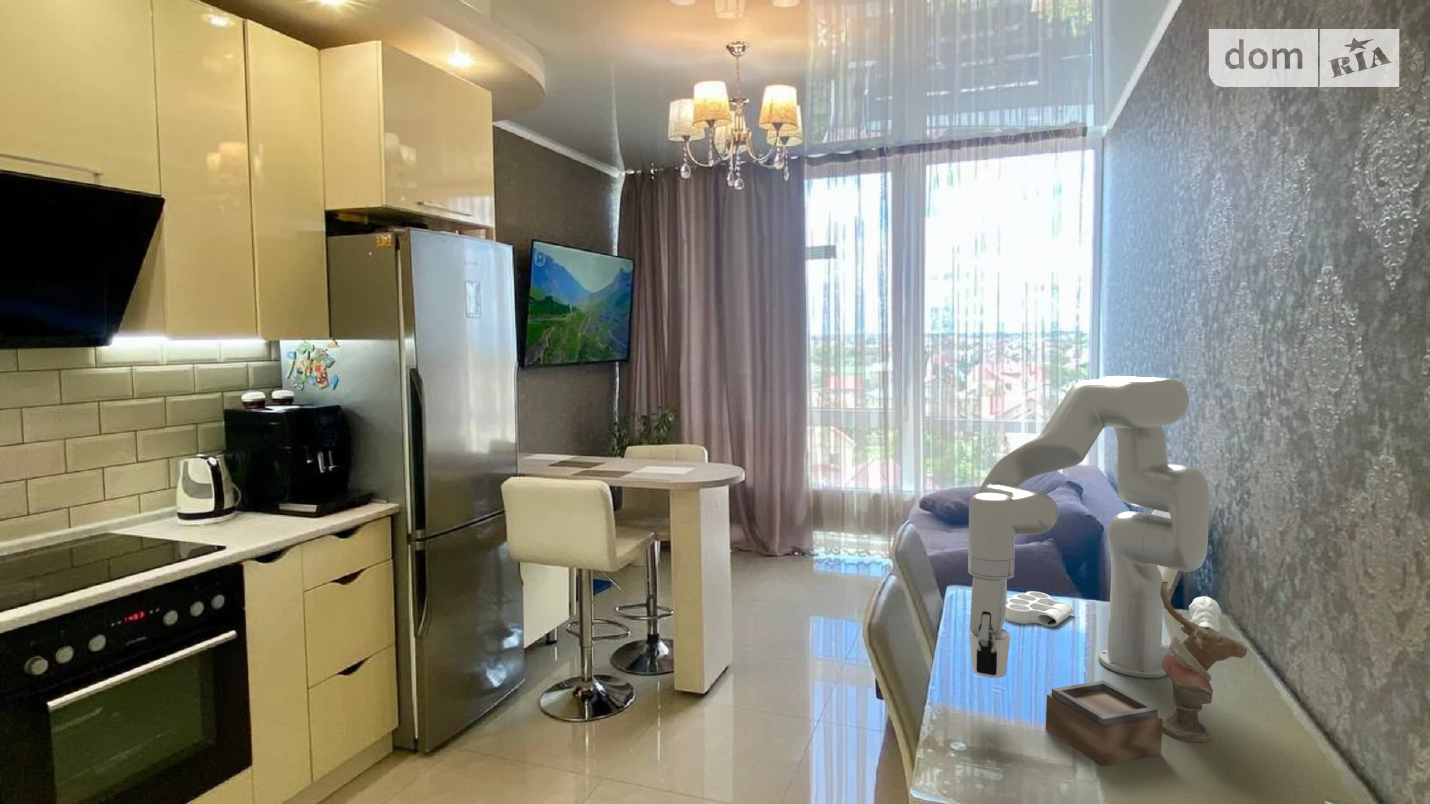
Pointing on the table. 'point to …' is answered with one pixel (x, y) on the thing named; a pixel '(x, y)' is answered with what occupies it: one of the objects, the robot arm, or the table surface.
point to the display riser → (1104, 722)
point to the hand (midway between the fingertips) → (989, 664)
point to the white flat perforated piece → (1036, 609)
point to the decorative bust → (1193, 672)
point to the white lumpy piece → (1205, 613)
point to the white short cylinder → (1000, 648)
